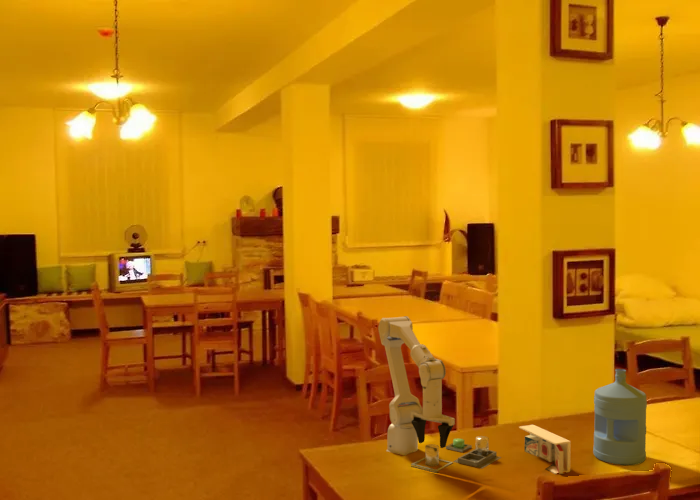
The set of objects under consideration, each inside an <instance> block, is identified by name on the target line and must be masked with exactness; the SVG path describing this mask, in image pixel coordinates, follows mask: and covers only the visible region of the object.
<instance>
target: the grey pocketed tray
mask: <svg viewBox="0 0 700 500" xmlns="http://www.w3.org/2000/svg"><path fill="white" fill-rule="evenodd" d="M501 458H502V457H501V456H497V451H494V450H489V455H487V456H481V455H477V454H476V448H474V449H473V450H470V451H469V452H467V453H465V454H463V455H461V456H459V457H457V459H456V460H455V459H454V460H453V461H452V462H453V463H457V464H461V465H466V466H471V467H473V468H479V469H484V468H486V467H488V466H489V465H491V464H493V463H494V462H496V461H498V460H500V459H501Z"/></svg>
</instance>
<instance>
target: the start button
mask: <svg viewBox="0 0 700 500" xmlns="http://www.w3.org/2000/svg"><path fill="white" fill-rule="evenodd" d="M452 443H453V447H456V448H461V449H462V448H463V447H464V444H465V439H463V438H453V440H452Z"/></svg>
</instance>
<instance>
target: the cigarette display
mask: <svg viewBox="0 0 700 500" xmlns="http://www.w3.org/2000/svg"><path fill="white" fill-rule="evenodd" d="M518 428H519V429H520V430H523V431H525V432H527V433H529V435H525V436H524V452H525V453H527V454H530V455H533V456H536V457H538V458H540V459H542V460H545V461H547V462H548V463H551V464H550V465H549V466H547V467H546V468H545V470H546V471H548V472H550V473H551V474H553V475H558V474H557V473H559V475H564V473H563V472H566V473H570V472H571V455H572V453H571V449H572V448H571V443H572V442H571V440H568V439H566V438H565V437H562V436H560V435H558V434H555V433H553V432H551V431H549V430H547V429H544V428H542V427H540V426H537V425H535V424H529V425H521V426H518Z"/></svg>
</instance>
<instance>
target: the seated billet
mask: <svg viewBox="0 0 700 500" xmlns="http://www.w3.org/2000/svg"><path fill="white" fill-rule="evenodd" d="M489 443H490V442H489V437H488V436H486V435H484V436H483V435H479V436H477V435H476V437H475V449H476V454H477V455H481V456H487V455H489V446H490V445H489Z"/></svg>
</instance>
